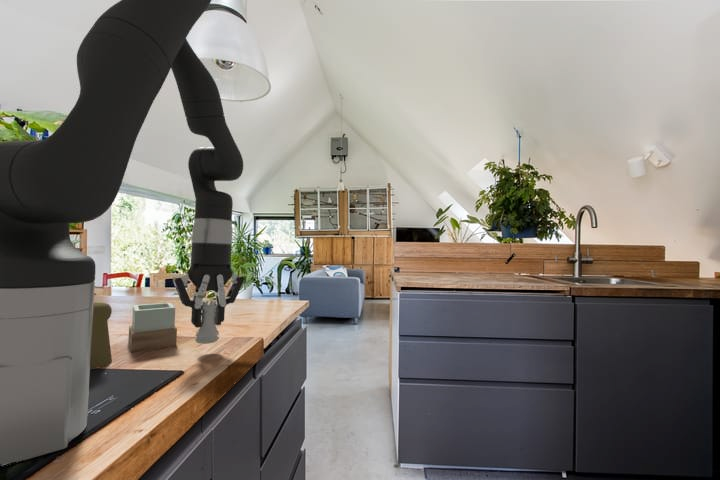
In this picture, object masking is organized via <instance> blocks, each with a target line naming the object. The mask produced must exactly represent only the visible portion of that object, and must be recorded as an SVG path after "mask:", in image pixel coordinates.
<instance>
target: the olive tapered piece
mask: <svg viewBox="0 0 720 480" xmlns="http://www.w3.org/2000/svg"><path fill="white" fill-rule="evenodd" d="M111 315H112V306H111V305H110V304H109V303H107V302H106V303H105V302H94V305H93V321H92V339H91V357H90V371H91V370H96V369H100V368H103V367H105V366H106V367H107V366H108V365H110V364H111V363H112V362H113V358H112V349H111V341H110V331H109V324H108V323H109V322H108V320H109V319H110V318H111Z"/></svg>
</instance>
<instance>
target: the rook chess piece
mask: <svg viewBox="0 0 720 480" xmlns="http://www.w3.org/2000/svg"><path fill="white" fill-rule="evenodd" d="M200 308H201V309H202V314H201V327H199V328H198V331H197V332H196V334H195V337H196V338H195V340H194V341H195V342H196V343H197V344H201V345H202V344H203V345H206V344H213V343H216V342H218V340H219V339H220V336H219V334H220V332H219V330H218V328H217V325H216V324H215V314H216V313H215V309H216V308H217V302H216V300H210V302H209V300H205V301H204V300H203V301H202V304H201V307H200Z"/></svg>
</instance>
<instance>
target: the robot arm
mask: <svg viewBox="0 0 720 480" xmlns="http://www.w3.org/2000/svg"><path fill="white" fill-rule="evenodd" d="M211 3H212V0H120V1H119V0H118V2H116V3H115V4H113V5H112V6H110V7H109V8H108V9H106V10H105V11H104V12H103V13H102V14H101V15H100V16H99V17H97V20H96V21H95V22H94V24H92V26H91V28H90V30H89V31H88V32H87V33H86V35H85V36H84V37H83V39H82V41H81V43H80V44H79V47H78V49H77V54H76V69H77V75H78V81H79V87H80V91H79V95H78V99H77V101H76V103H75V105H74V106H73V108H72V109H71V110H70V111H69V113H68V115H67V116H66V118H65V119H64V120H63V122H62V123H61V124H60V125H59V127H58V128H56V130H55V131H54V132H53V133H52V134H51V135H50V136H48V137H46V138H45V139H33V140H31V139H28V140H9V141H1V142H0V464H1V465H2V464H6V463H9V462H16V463H19V461H20V462H22V460H23V461H26V460H29V459H33V458H36V457H40V456H43V455H47V454H49V453H54V452H58V451H61V450H64V449H66V448H68V445H69V443H70V442H71V441H72V440H73V439H75V438H76V437H78V436H79V435H80V434H81V433H83V431H84V430H85V429H86V427H87V426H88V424H87V423H88V408H89V396H90V395H89V393H90V391H89V390H90V389H89V388H90V374H91V373H90V372H91V370H90V357H91V339H92V321H93V305H94V303H95V287H96V285H95V284H96V282H95V281H96V269H97V268H96V262H95V260H94V258H92V257H91V256H89V255H87V254H86V253H84V252H83V251H81V250H79V249H78V248H77V247H76V245H74V244H73V242H72V240H71V237H70V236H71V235H70V224H81V223H87V222H91V221H94V220H96V219H98V218H99V217H101V216H103V215H104V214H105V213H107V211H108V210H109V209H110V208H111V206H112V205H113V203H114V202H115V199H116V198H117V196H118V194H119V191H120V189H121V185H122V184H123V183H122V182H123V180H124V176H125V173H126V170H127V168H128V164H129V162H130V158H131V156H132V152H133V149H134V146H135V144H136V141H137V138H138V136H139V133H140V131H141V129H142V127H143V124H145V121H146V118H147V116H148V114H149V112H150V109H151V107H152V105H153V103H154V102H155V99H156V98H157V95H158V94H159V93H160V91H161V89H162V88H163V85H164V83H165V81H166V79H167V77H168V75H169V73H170V71H172V74H173V77H174V79H175V82H176V85H177V86H176V87H177V89H178V93H179V97H180V101H181V104H182V109H183V112H184V116H185V120H186V123H187V126H188V128H189V131H190V132H191V133H193V134H195V135H197V136H201V137H206V138H208V140H209V141H210V143H211V145H212V146H201V147H196V148H195V149H194V150H192V152H190V153H191V154H190V155H189V158H188V163H187V164H188V165H187V167H188V172H189V175H190V179H191V184H192V190H193V193H194V198H195V208H194V222H193V227H192V233H191V249H190V250H191V251H190V252H191V254H190V266H189V269H188V270H187V272H186V273H185V274H183V275H181V276H174V277H173V278H172V283H173V285H174V287H175V289H176V292H177V294H178V297H179V299H180V302H181V304H182V305H183V306H185V307H189V308H191V318H190V322H191V324H192V325H193V326H194V328H196V329H197V328H198V329H199V328H200V327H201V320H202V315H201V314H202V309H201V308H200V307H201V305H202V302H203V301H204V297H205V295H206V293H207V292H211V291H212V292H214V295H215V301H216V305H217V308H216V309H215V313H216V314H215V325H216V326H221V325H222V323H223V322H224V321H225V313H226V311H225V310H226V306H227V305H229V304H234V303H235V302H236V299H237V297H238V294H239V293H240V290H241V288H242V287H243V284H244V281H245V277H244V276H242V275H238V274H235V273H233V270H232V267H231V266H232V265H231V264H232V250H233V223H232V221H233V197H232V196H231V195H230V194H229V193H227V192H224V191H221V190H220V191H219V190H217V188H216V185H215V182H225V181H226V182H231V181H237V180H238V179H239V178H240V177H241V176H242V174H243V172H244V159H243V156H242V154H241V151H240V149H239V148H238V147H239V146H238V145H237V143H236V141H235V139H234V137H233V135H232V133H231V131H230V129H229V127H228V124H227V121H226V118H225V113H224V108H223V104H222V98H221V95H220V94H221V93H220V91H219V88H218V86H217V83H216V82H215V79H214V77H213V75H211V72H210V71H209V70H208V69H207V67H206V66H205V65H204V63H203V62H202V61H201V59H200V58H199V57H198V55H197V53H196V52H195V50H193V48H192V46H191V45H190V43H189V42H188V40H187V37H188V35H189V33H190V31H191V30H192V28H193V27H194V26H195V24H196V23H197V21H198V20H199V19H200V17H202V16H203V14H204V12H206V10H207V9H208V7H209V6H210V5H211ZM229 280H230V283H231V286H230V288H229V290H228V292H227V295H226V290H225V286H226V284H228V282H229ZM188 281H190V282H191V283H192V284H193V285H194V287H195V288H194V291H193V298H192V299H191V298H190V296H189V293H188V291H187V289H186V286H188Z"/></svg>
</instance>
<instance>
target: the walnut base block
mask: <svg viewBox="0 0 720 480" xmlns="http://www.w3.org/2000/svg"><path fill="white" fill-rule="evenodd" d="M177 332H178V328H177V327H176V326H175V328H170V329H162V330H154V331H146V332H138V333H134V331H133V327H132V325H129V326H128V338H127V339H128V347H129V351H130V352H131V353H135V352H142V351H148V350H156V349H162V348H168V347H175V346H177V339H178V333H177Z"/></svg>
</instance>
